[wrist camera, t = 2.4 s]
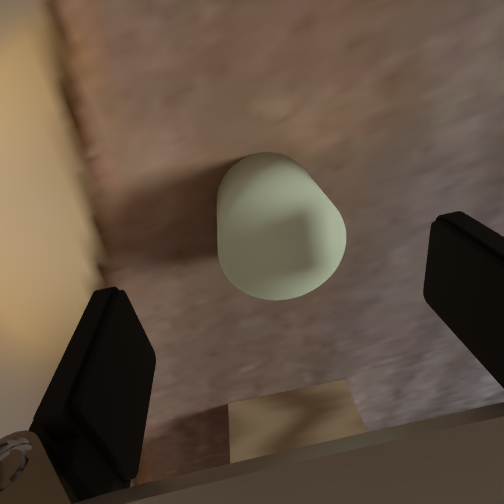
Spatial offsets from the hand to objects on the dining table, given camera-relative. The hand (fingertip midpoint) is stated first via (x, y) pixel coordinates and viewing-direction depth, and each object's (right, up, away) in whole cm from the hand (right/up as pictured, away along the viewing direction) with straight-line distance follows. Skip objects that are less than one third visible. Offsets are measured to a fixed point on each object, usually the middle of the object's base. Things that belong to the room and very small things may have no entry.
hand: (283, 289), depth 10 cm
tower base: (+2, -13, +17) cm, 22 cm away
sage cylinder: (0, +4, +7) cm, 8 cm away
